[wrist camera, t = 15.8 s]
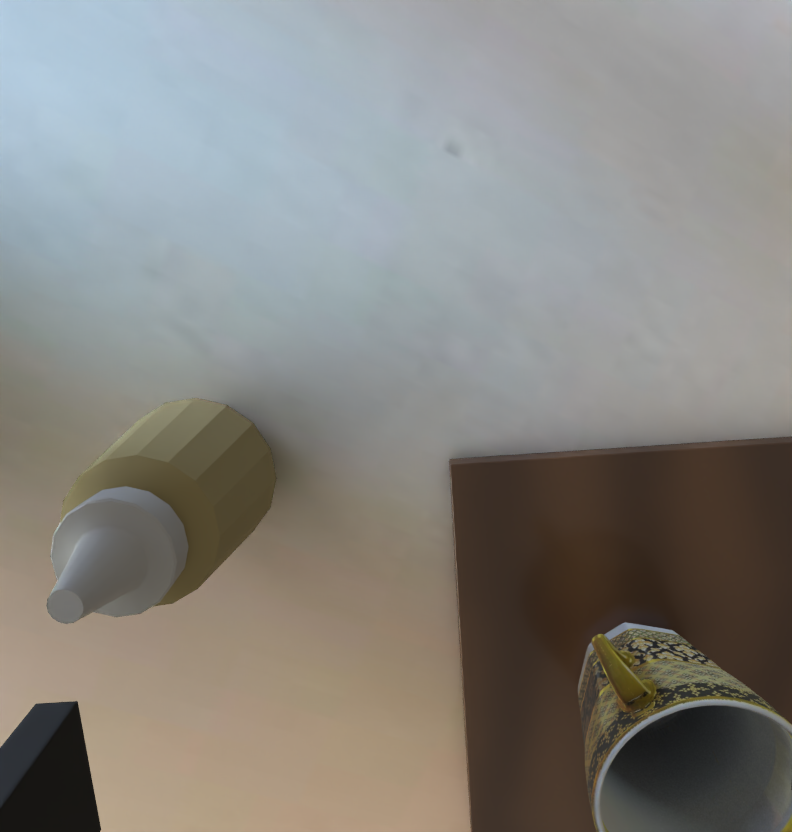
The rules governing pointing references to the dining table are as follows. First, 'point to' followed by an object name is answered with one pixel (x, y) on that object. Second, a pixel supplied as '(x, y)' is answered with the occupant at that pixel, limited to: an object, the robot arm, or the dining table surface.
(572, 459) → the serving board
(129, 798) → the dining table surface
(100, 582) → the squeeze bottle
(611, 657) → the ceramic cup
